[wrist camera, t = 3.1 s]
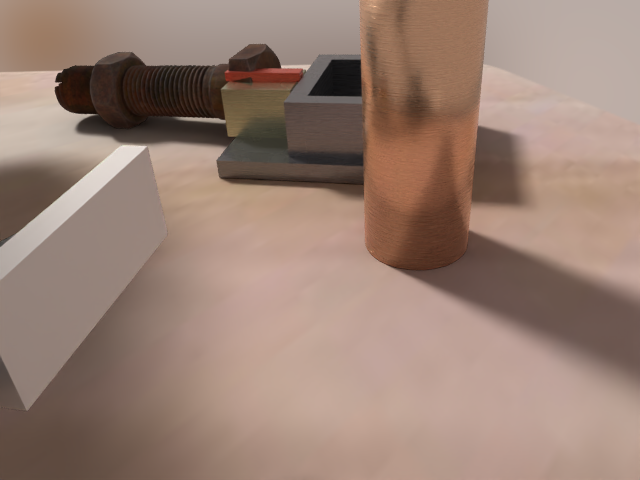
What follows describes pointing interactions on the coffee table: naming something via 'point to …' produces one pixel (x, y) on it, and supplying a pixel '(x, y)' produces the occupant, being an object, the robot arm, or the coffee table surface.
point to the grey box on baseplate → (295, 123)
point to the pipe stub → (420, 126)
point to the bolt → (153, 87)
